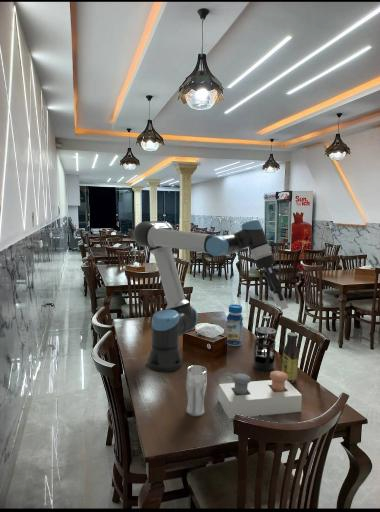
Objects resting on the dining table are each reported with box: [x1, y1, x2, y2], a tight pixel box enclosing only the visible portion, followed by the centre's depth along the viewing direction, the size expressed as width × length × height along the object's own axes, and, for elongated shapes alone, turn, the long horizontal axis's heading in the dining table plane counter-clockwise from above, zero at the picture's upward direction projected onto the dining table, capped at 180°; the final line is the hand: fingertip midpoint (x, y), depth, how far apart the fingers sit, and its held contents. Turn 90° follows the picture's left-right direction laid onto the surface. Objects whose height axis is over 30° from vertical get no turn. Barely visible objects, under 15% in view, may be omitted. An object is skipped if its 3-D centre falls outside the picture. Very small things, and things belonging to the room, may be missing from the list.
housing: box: [217, 379, 303, 419], centre depth 126 cm, size 26×12×6 cm, turn 102°
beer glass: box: [185, 364, 208, 417], centre depth 121 cm, size 7×7×15 cm
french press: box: [252, 315, 277, 372], centre depth 157 cm, size 12×9×23 cm
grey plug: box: [232, 373, 251, 396], centre depth 124 cm, size 6×6×6 cm
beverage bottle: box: [225, 303, 244, 347], centre depth 184 cm, size 8×8×20 cm
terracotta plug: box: [269, 370, 288, 392], centre depth 127 cm, size 6×6×6 cm
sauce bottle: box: [281, 331, 300, 384], centre depth 145 cm, size 6×6×20 cm
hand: (282, 307), depth 142 cm, fingers open, 13 cm apart
